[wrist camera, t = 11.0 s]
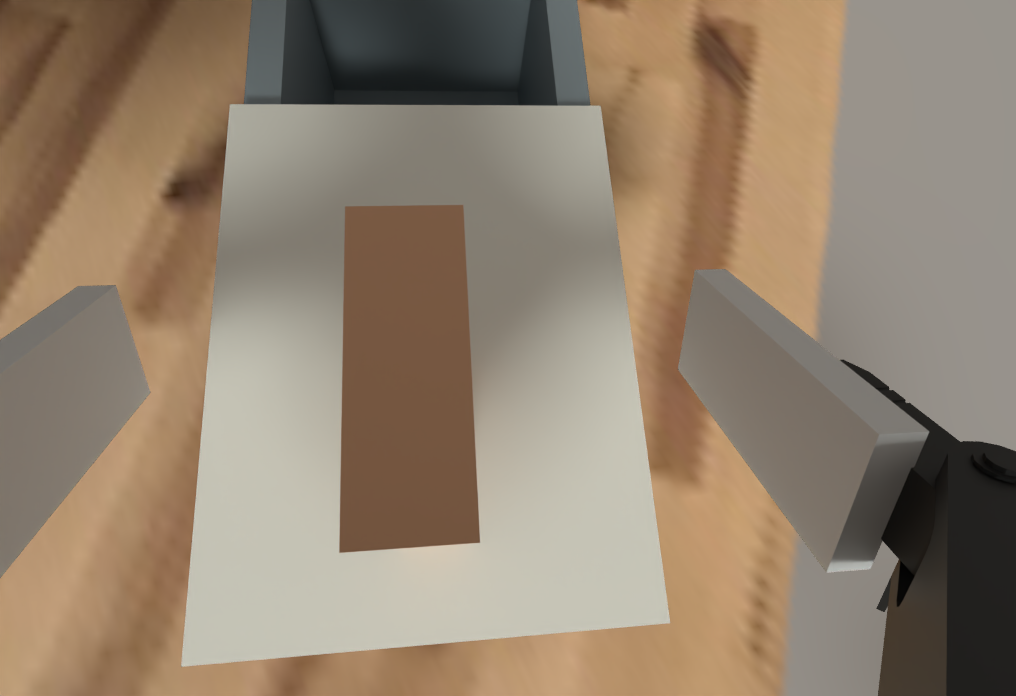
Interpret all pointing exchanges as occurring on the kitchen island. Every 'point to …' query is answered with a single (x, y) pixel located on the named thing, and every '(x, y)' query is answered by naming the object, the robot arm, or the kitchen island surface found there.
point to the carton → (416, 53)
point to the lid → (418, 387)
